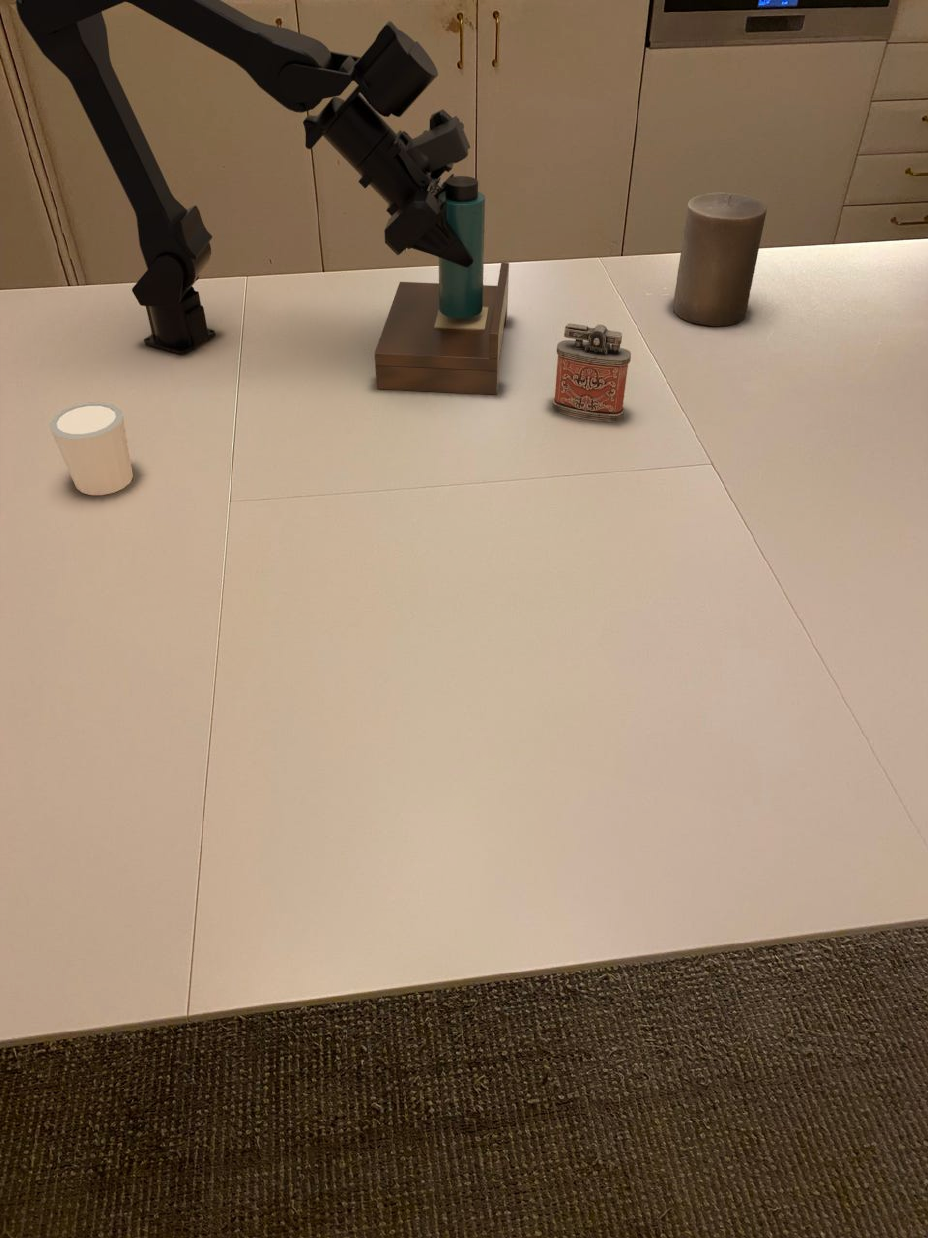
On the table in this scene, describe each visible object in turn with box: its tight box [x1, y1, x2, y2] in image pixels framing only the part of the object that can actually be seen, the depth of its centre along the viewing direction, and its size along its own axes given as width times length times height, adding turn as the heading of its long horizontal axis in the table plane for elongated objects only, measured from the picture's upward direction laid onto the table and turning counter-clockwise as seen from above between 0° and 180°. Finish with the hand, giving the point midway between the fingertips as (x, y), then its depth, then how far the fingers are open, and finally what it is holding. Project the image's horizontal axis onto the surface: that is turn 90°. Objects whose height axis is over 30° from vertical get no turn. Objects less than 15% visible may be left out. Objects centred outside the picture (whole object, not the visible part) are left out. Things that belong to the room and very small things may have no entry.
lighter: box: [552, 322, 632, 423], centre depth 104 cm, size 8×3×10 cm, turn 71°
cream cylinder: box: [49, 402, 134, 496], centre depth 94 cm, size 7×7×7 cm
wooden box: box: [374, 262, 510, 396], centre depth 115 cm, size 14×20×8 cm
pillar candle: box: [672, 191, 768, 327], centre depth 122 cm, size 10×10×15 cm
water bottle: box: [438, 175, 486, 318], centre depth 109 cm, size 5×5×15 cm
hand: (472, 254), depth 109 cm, fingers closed on water bottle, 5 cm apart
